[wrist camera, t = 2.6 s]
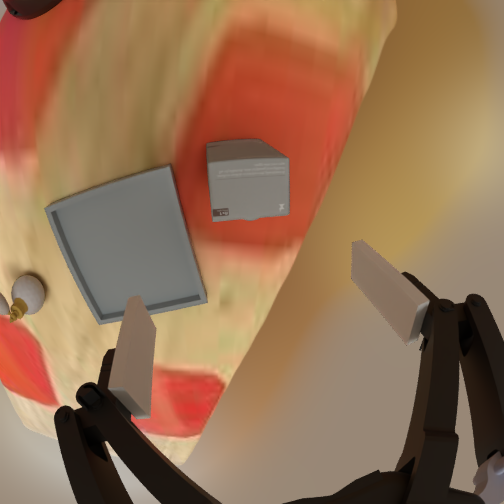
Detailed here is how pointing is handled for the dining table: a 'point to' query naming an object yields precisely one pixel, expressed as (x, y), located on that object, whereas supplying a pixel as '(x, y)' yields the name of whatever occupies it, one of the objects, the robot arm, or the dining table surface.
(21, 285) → the perfume bottle
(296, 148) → the dining table surface
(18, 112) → the dining table surface
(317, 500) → the robot arm
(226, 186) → the skincare box
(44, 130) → the dining table surface
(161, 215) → the tray
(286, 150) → the dining table surface
